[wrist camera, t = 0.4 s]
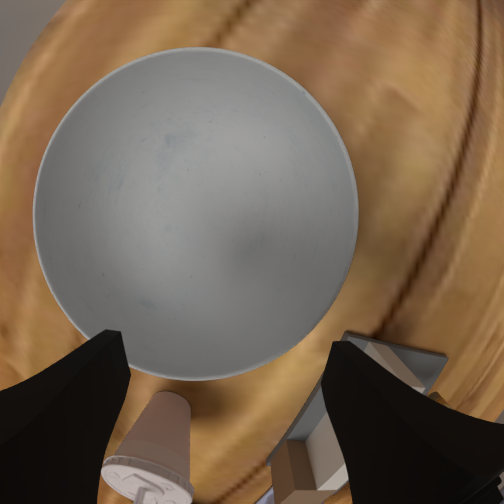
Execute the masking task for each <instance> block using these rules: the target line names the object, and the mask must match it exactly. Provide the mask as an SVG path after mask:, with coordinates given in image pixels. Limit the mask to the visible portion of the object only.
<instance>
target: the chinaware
mask: <svg viewBox="0 0 504 504" xmlns="http://www.w3.org/2000/svg"><path fill="white" fill-rule="evenodd" d="M358 222H359V204H358V192H357V185H356V179H355V175H354V171H353V167H352V163H351V160H350V157H349V154H348V152H347V149H346V147H345V144H344V142H343V140H342V138H341V136H340V134H339V132H338V130H337V129H336V127H335V125H334V124H333V122H332V120H331V119H330V117H329V116H328V115H327V113H326V112H325V111H324V109H323V108H322V107H321V105H320V104H319V103H318V102H317V101H316V100H315V99H314V98H313V96H312V95H311V94H310V93H309V92H307V91H306V90H305V89H304V88H303V87H302V86H301V85H300V84H298V83H297V82H296V81H295V80H293V79H292V78H291V77H289V76H288V75H286V74H285V73H283V72H282V71H280V70H279V69H277V68H275V67H273V66H271V65H269V64H268V63H265V62H263V61H261V60H259V59H256V58H254V57H251V56H248V55H245V54H242V53H238V52H234V51H230V50H224V49H218V48H208V47H187V48H177V49H170V50H165V51H160V52H156V53H153V54H149V55H146V56H143V57H141V58H138V59H136V60H133V61H131V62H129V63H127V64H125V65H123V66H121V67H119V68H117V69H116V70H114V71H112V72H111V73H109V74H108V75H106V76H105V77H103V78H102V79H100V80H99V81H98V82H97V83H95V84H94V85H93V86H92V87H91V88H89V89H88V90H87V91H86V92H85V93H84V94H83V95H82V96H81V97H80V98H79V99H78V100H77V101H76V102H75V104H74V105H73V106H72V107H71V108H70V110H69V111H68V112H67V114H66V115H65V116H64V118H63V119H62V121H61V122H60V124H59V125H58V127H57V129H56V130H55V132H54V134H53V136H52V138H51V140H50V142H49V144H48V146H47V148H46V151H45V153H44V156H43V159H42V162H41V165H40V168H39V172H38V176H37V180H36V185H35V192H34V200H33V230H34V239H35V245H36V250H37V254H38V258H39V262H40V265H41V268H42V271H43V274H44V277H45V279H46V282H47V284H48V286H49V288H50V290H51V292H52V294H53V296H54V298H55V300H56V301H57V303H58V305H59V306H60V308H61V309H62V311H63V312H64V313H65V315H66V316H67V318H68V319H69V320H70V321H71V323H72V324H73V325H74V326H75V327H76V328H77V329H78V330H79V331H80V332H81V333H82V334H83V335H84V336H85V337H86V338H87V339H88V340H90V339H91V338H93V337H94V336H95V335H97V334H98V333H100V332H102V331H103V330H105V329H109V330H115V331H121V333H122V338H123V343H124V348H125V352H126V356H127V361H128V365H129V367H131V368H134V369H136V370H139V371H141V372H144V373H147V374H151V375H154V376H158V377H163V378H168V379H175V380H184V381H205V380H216V379H222V378H227V377H232V376H236V375H240V374H243V373H246V372H249V371H251V370H254V369H257V368H259V367H261V366H263V365H265V364H267V363H269V362H271V361H273V360H275V359H276V358H278V357H280V356H281V355H283V354H284V353H286V352H287V351H289V350H290V349H291V348H293V347H294V346H295V345H297V344H298V343H299V342H300V341H301V340H302V339H304V338H305V337H306V336H307V335H308V334H309V333H310V332H311V331H312V330H313V329H314V328H315V326H316V325H317V324H318V323H319V322H320V321H321V319H322V318H323V317H324V316H325V314H326V313H327V311H328V310H329V309H330V307H331V305H332V304H333V302H334V301H335V299H336V297H337V295H338V294H339V292H340V290H341V288H342V286H343V283H344V281H345V279H346V276H347V274H348V271H349V268H350V265H351V262H352V259H353V255H354V251H355V246H356V240H357V233H358Z"/></svg>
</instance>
